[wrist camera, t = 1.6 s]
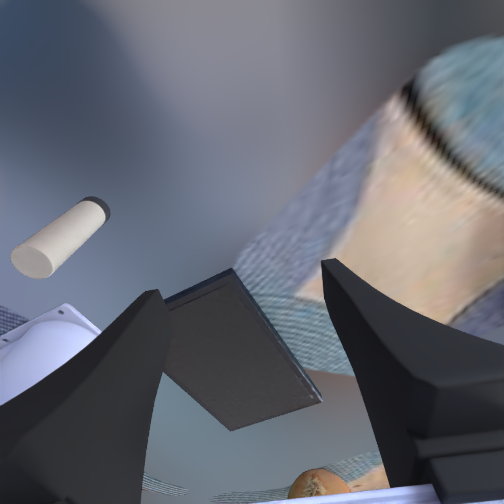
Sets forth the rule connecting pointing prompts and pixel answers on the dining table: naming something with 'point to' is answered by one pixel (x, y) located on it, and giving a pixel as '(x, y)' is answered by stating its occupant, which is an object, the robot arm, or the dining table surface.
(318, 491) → the onion
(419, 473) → the robot arm
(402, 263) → the dining table surface
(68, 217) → the white cylinder
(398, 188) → the dining table surface
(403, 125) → the dining table surface
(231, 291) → the tablet
